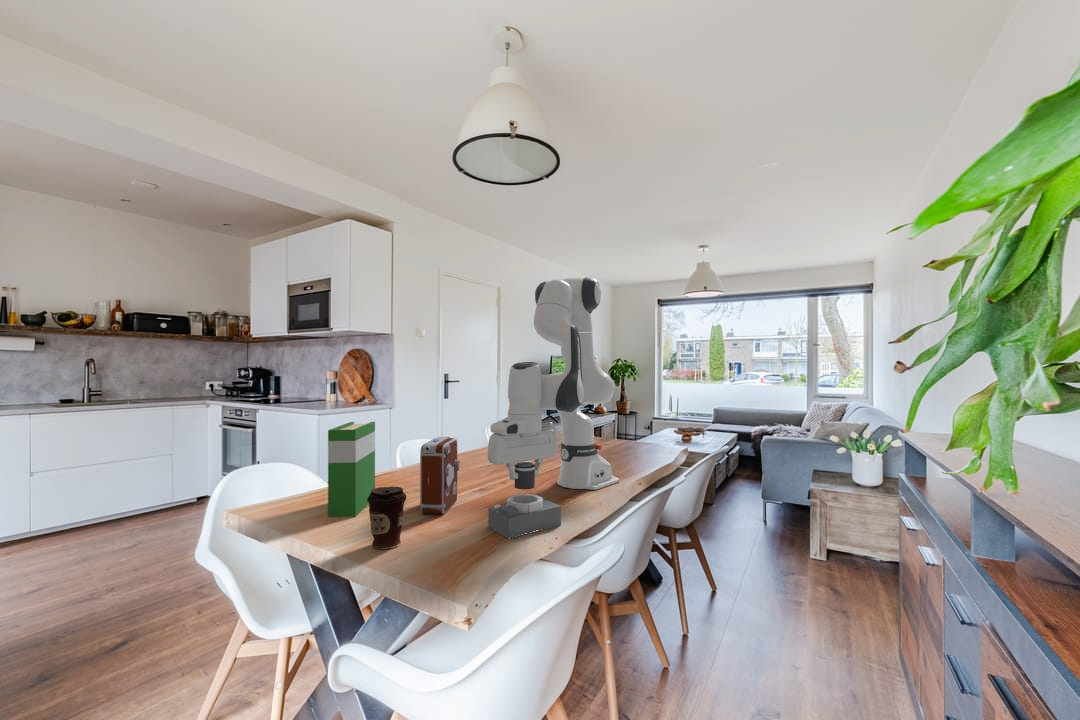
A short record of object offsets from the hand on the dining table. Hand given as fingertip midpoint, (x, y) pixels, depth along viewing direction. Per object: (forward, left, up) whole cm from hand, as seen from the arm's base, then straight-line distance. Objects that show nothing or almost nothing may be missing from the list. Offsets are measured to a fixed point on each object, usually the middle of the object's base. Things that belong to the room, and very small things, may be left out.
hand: (524, 477), depth 119 cm
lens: (0, 0, -2) cm, 2 cm away
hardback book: (+32, -43, -13) cm, 55 cm away
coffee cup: (+33, -9, -13) cm, 36 cm away
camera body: (0, 0, -13) cm, 13 cm away
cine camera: (+10, -29, -13) cm, 33 cm away
